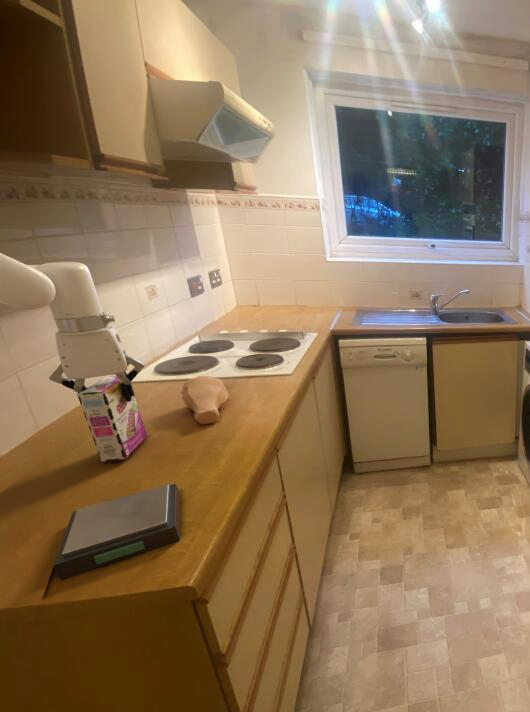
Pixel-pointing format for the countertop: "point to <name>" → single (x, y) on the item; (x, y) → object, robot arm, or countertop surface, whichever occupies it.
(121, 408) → the candy bar box
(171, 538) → the scale
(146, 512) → the scale pan
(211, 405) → the squash
